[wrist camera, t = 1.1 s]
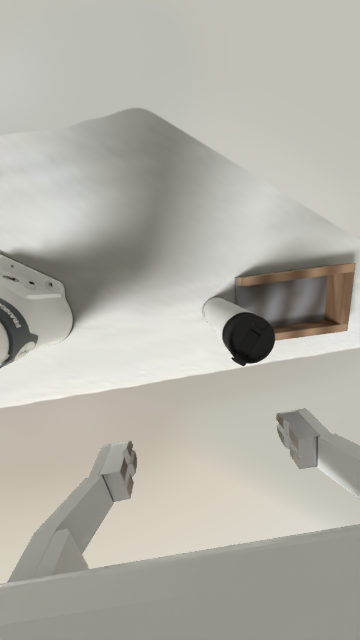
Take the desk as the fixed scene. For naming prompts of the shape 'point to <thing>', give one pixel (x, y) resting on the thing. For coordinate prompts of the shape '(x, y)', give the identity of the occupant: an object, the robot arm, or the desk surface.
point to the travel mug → (240, 330)
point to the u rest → (300, 299)
